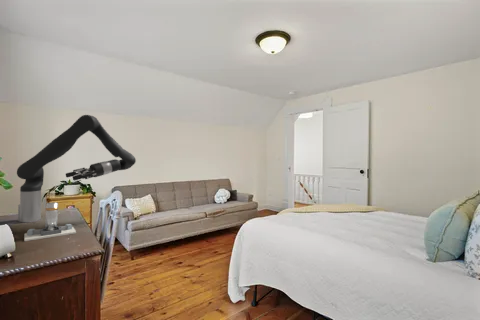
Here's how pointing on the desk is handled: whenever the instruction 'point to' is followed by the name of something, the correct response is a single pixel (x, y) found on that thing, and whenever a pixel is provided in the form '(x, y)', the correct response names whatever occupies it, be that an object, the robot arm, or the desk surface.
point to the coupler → (51, 216)
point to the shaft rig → (49, 232)
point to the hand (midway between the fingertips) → (69, 177)
